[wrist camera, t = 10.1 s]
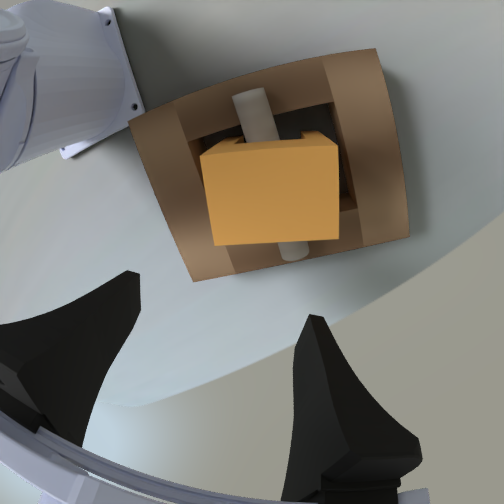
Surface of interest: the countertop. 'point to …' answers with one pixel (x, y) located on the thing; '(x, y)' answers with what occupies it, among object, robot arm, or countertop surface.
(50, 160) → the countertop surface
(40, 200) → the countertop surface
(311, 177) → the orange notched block
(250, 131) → the square wooden frame
